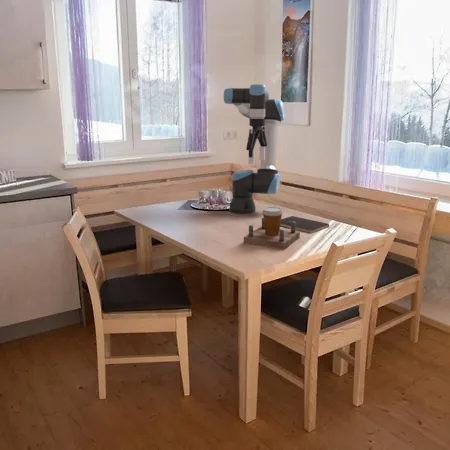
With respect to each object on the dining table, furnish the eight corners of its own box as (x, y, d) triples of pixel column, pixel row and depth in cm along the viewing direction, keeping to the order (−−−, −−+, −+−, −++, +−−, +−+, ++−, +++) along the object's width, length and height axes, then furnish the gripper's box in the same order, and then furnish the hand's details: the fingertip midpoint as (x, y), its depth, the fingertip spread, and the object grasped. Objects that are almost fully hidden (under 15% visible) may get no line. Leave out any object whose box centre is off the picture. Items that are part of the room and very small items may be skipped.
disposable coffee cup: (281, 237, 226) (282, 212, 222) (260, 236, 228) (260, 211, 224) (283, 231, 235) (283, 207, 231) (263, 230, 237) (263, 206, 233)
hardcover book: (311, 234, 243) (311, 229, 243) (274, 225, 259) (274, 221, 258) (329, 227, 254) (329, 223, 254) (293, 219, 270) (293, 215, 269)
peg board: (260, 232, 245) (261, 216, 243) (299, 237, 236) (300, 221, 234) (243, 243, 228) (243, 226, 226) (284, 249, 219) (285, 232, 217)
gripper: (260, 115, 251) (259, 157, 257) (239, 119, 229) (239, 165, 235) (273, 116, 247) (273, 158, 254) (254, 120, 226) (253, 166, 232)
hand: (256, 161), depth 244 cm, fingers open, 13 cm apart
